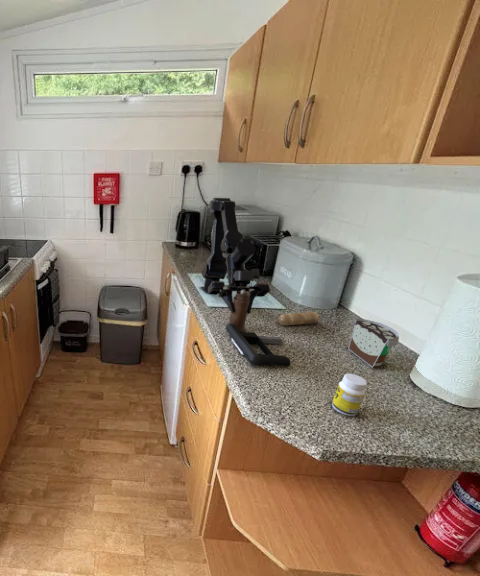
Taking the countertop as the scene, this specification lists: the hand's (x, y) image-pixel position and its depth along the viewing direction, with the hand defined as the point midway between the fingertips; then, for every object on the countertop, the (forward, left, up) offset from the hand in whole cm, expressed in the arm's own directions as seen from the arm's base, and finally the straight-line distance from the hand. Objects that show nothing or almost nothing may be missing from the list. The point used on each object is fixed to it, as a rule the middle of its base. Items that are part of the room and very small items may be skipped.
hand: (240, 312), depth 103 cm
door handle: (+11, 0, -7) cm, 13 cm away
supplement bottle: (+37, +3, -7) cm, 38 cm away
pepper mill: (-1, 0, -7) cm, 7 cm away
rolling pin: (-1, +24, -7) cm, 25 cm away
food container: (+21, +29, -7) cm, 37 cm away
